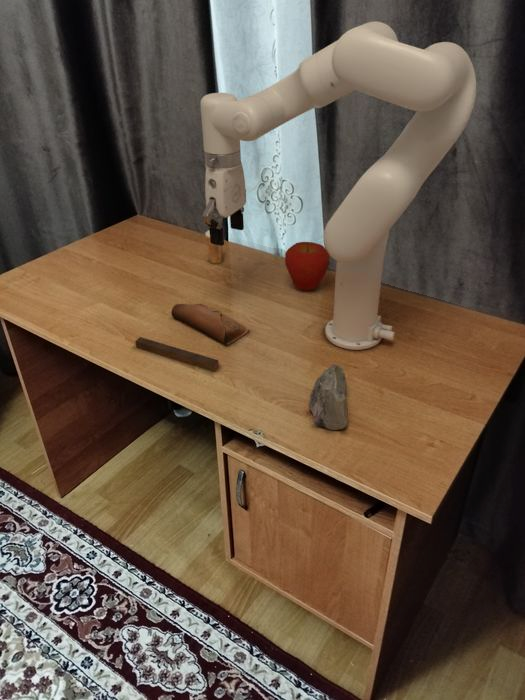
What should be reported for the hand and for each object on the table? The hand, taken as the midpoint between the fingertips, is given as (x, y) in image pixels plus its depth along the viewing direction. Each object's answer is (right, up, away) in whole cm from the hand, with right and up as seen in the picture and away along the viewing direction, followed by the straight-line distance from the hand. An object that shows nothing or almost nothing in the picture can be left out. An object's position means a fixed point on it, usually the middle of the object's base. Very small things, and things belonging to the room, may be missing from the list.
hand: (227, 236), depth 129 cm
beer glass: (-5, -1, +30) cm, 30 cm away
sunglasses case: (-4, -20, +3) cm, 21 cm away
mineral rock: (+21, -37, -21) cm, 47 cm away
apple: (+19, -10, +17) cm, 27 cm away
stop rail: (-10, -27, -7) cm, 30 cm away
